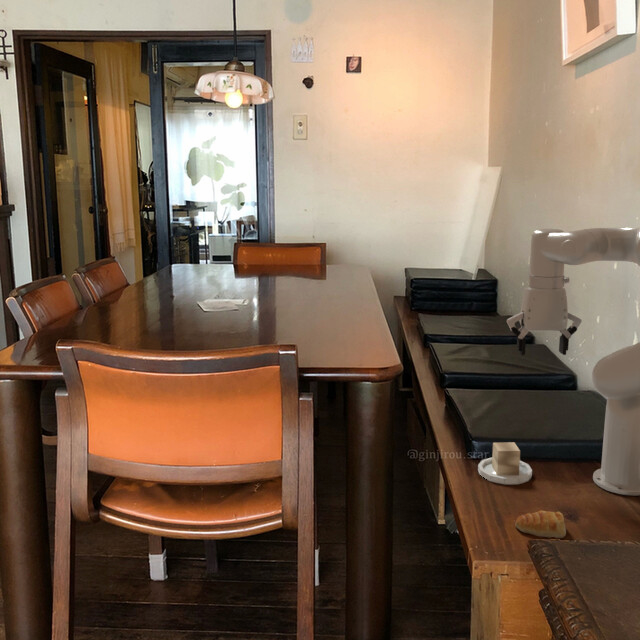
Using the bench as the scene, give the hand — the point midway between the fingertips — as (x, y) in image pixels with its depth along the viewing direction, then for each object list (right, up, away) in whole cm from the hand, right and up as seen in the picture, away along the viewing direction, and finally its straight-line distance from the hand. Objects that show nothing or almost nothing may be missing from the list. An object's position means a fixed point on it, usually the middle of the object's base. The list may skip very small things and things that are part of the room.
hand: (542, 353), depth 164 cm
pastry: (-9, -34, -28) cm, 45 cm away
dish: (-10, -28, -3) cm, 30 cm away
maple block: (-10, -27, -3) cm, 29 cm away
